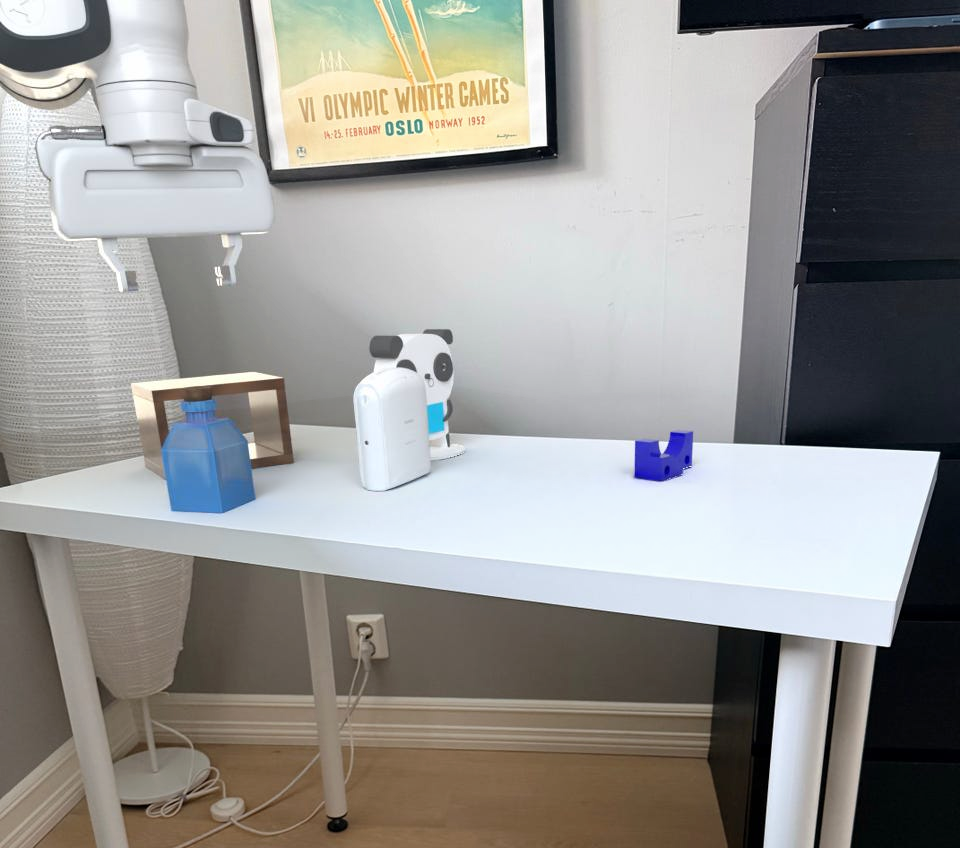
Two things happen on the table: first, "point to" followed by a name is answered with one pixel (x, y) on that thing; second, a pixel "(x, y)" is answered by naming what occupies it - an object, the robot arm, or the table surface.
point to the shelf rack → (261, 389)
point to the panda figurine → (425, 378)
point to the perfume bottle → (206, 458)
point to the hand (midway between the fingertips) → (179, 288)
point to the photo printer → (392, 428)
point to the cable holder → (663, 456)
